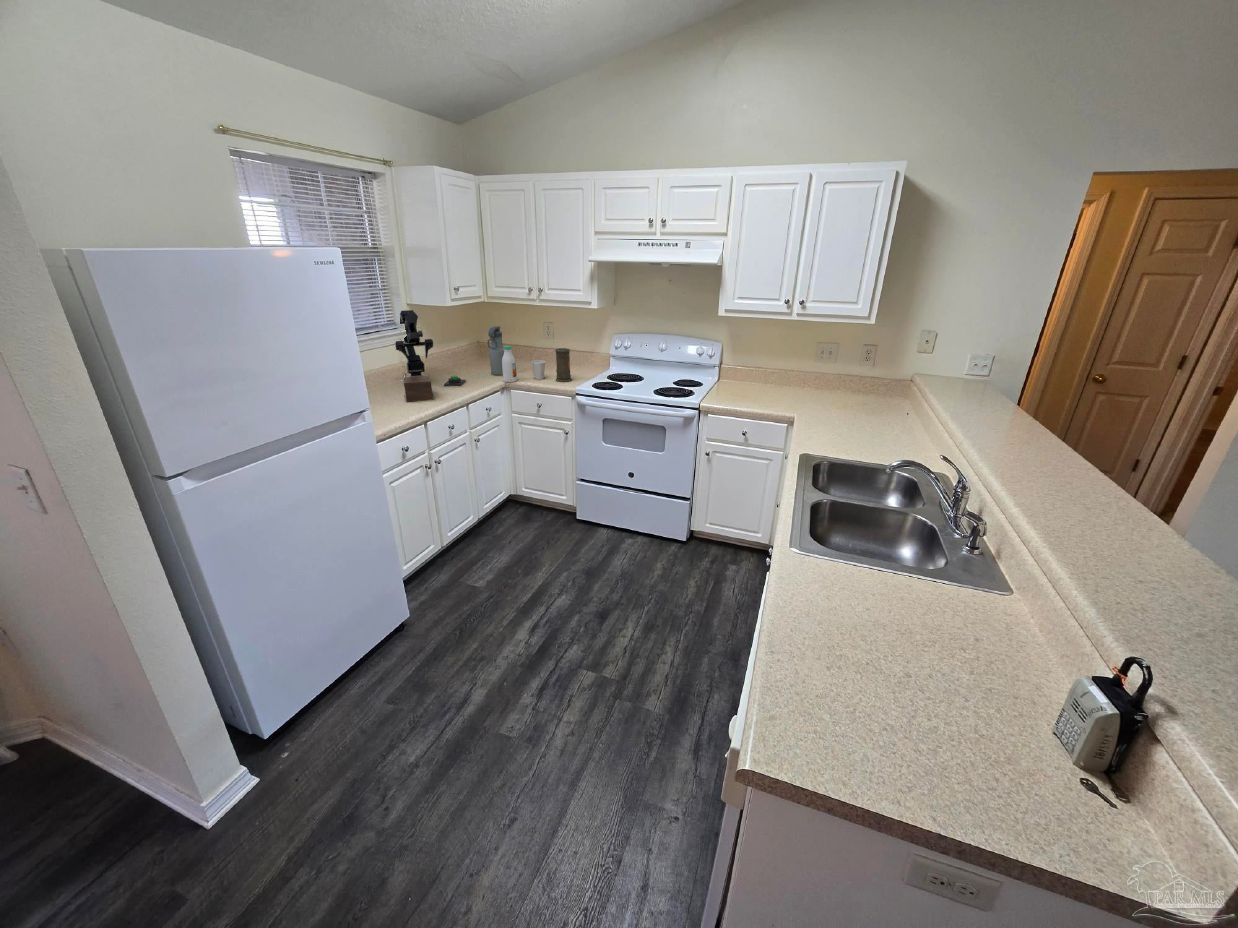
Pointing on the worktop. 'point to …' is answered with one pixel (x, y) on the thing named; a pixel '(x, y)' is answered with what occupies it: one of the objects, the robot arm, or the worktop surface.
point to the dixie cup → (538, 368)
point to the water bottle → (496, 350)
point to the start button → (454, 377)
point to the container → (563, 365)
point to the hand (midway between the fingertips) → (417, 359)
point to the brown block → (418, 388)
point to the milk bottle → (509, 365)
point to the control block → (454, 382)
